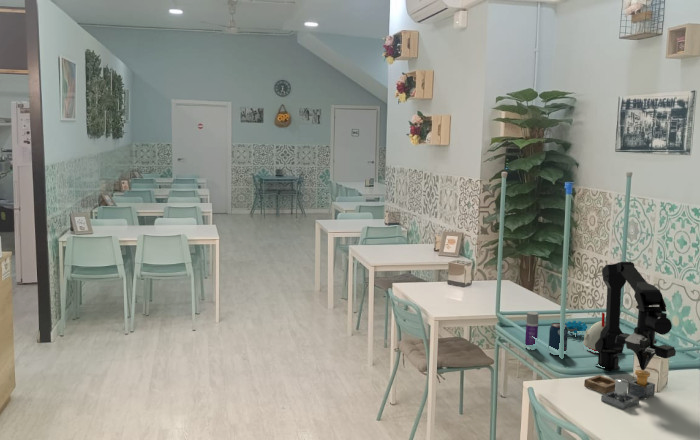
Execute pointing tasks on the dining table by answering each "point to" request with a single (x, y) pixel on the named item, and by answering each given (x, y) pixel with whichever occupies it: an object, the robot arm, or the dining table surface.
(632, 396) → the socket block
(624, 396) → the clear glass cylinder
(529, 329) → the container
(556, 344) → the soda can
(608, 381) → the brown wooden tray
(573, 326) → the blue irregular lump
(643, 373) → the plunger
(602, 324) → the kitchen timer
